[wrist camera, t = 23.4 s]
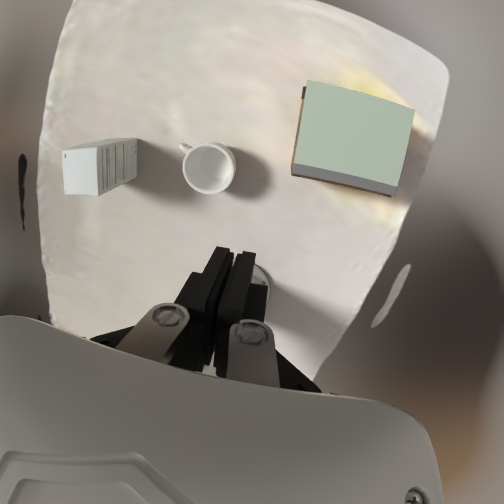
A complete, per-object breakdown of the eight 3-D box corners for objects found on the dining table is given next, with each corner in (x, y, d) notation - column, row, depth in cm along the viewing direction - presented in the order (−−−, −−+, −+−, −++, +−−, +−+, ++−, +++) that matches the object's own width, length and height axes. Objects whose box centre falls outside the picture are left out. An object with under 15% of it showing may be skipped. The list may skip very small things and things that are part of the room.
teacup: (249, 159, 44) (245, 164, 39) (221, 195, 47) (213, 204, 42) (200, 123, 42) (189, 124, 37) (175, 160, 45) (162, 166, 40)
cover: (392, 194, 36) (394, 196, 35) (292, 171, 37) (292, 173, 36) (411, 109, 30) (414, 110, 29) (307, 80, 31) (307, 80, 30)
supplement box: (105, 176, 48) (63, 195, 36) (105, 138, 44) (60, 148, 33) (138, 178, 47) (98, 197, 36) (139, 137, 44) (96, 146, 33)
